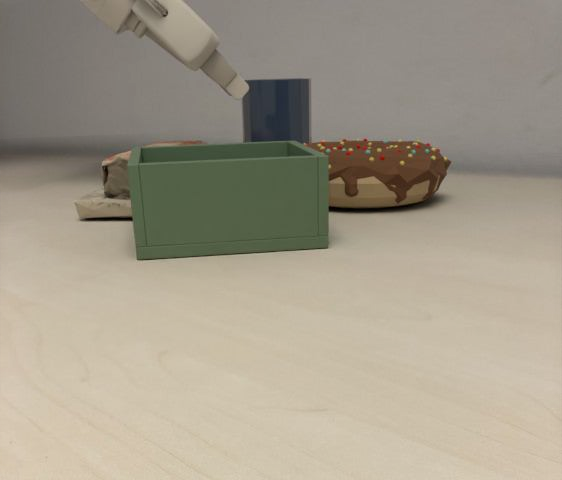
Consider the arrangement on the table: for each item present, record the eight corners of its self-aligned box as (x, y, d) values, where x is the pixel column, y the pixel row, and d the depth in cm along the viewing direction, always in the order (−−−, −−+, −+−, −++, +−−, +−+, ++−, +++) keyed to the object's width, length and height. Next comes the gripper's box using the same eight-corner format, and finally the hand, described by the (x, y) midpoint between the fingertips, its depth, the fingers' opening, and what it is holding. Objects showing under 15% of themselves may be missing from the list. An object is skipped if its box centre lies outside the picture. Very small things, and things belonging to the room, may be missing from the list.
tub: (136, 259, 44) (126, 164, 42) (139, 224, 55) (131, 147, 52) (328, 247, 46) (328, 155, 44) (296, 216, 56) (295, 140, 54)
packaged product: (134, 138, 71) (231, 137, 70) (139, 187, 73) (234, 186, 72) (66, 158, 55) (191, 157, 54) (74, 221, 57) (196, 221, 55)
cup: (249, 187, 71) (245, 80, 67) (241, 178, 77) (237, 79, 73) (317, 184, 72) (317, 78, 68) (304, 175, 78) (303, 78, 74)
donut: (283, 216, 56) (282, 151, 54) (291, 189, 69) (290, 135, 67) (463, 214, 56) (468, 147, 54) (438, 187, 68) (442, 132, 66)
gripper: (148, -61, 56) (273, 68, 61) (158, -29, 75) (253, 68, 80) (99, 3, 58) (225, 124, 63) (120, 19, 76) (216, 111, 81)
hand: (240, 93), depth 71 cm, fingers open, 8 cm apart
